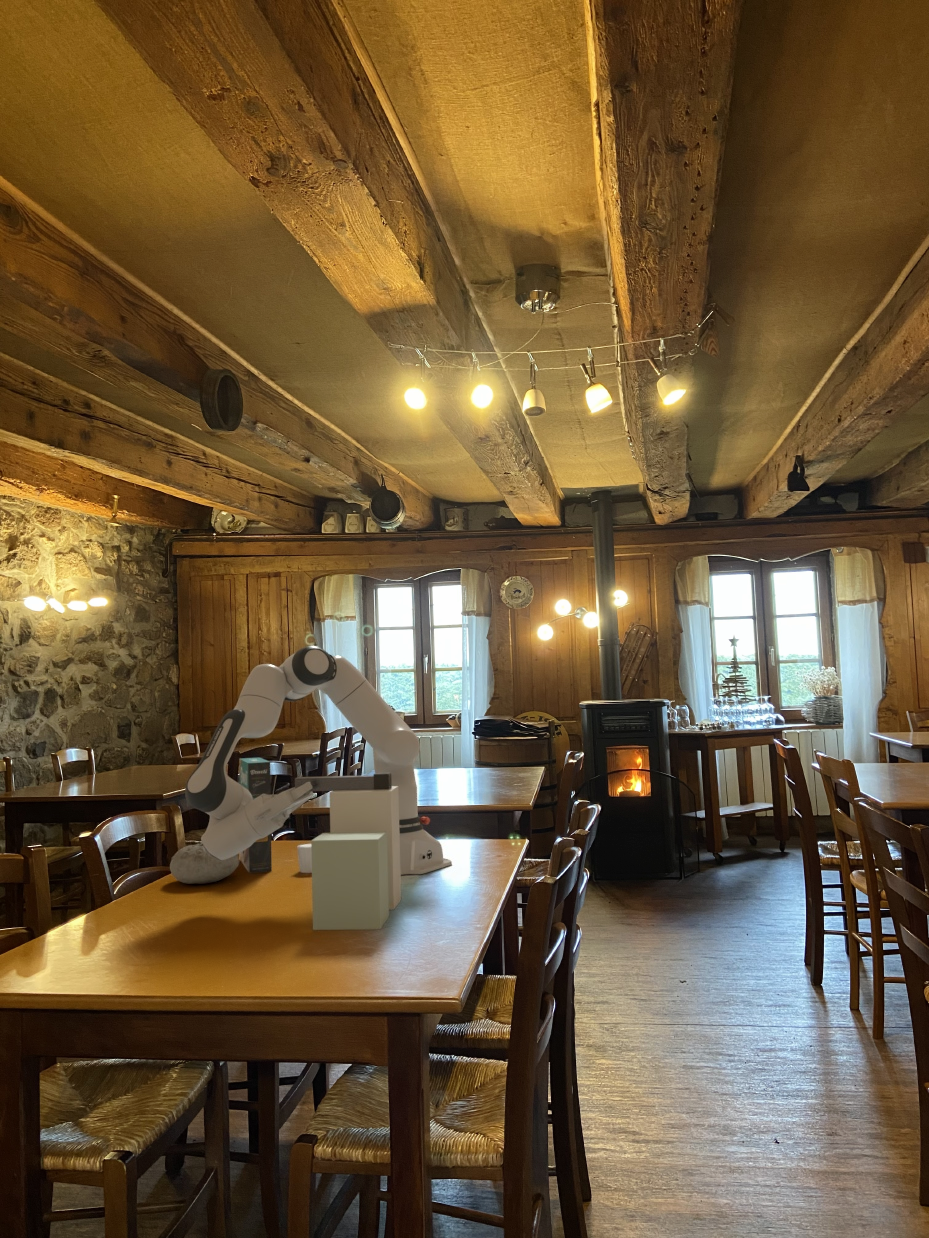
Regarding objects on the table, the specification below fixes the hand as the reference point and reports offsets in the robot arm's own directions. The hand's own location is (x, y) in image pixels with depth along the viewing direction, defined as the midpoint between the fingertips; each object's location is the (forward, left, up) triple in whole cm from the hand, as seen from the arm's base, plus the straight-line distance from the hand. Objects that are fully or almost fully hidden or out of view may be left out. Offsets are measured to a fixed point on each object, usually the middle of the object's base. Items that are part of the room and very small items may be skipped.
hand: (316, 782), depth 203 cm
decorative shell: (+3, -47, -28) cm, 55 cm away
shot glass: (-22, -35, -28) cm, 50 cm away
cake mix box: (-17, -55, -28) cm, 64 cm away
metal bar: (-4, +5, -2) cm, 7 cm away
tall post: (-7, +9, -28) cm, 30 cm away
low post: (+5, +19, -28) cm, 34 cm away
